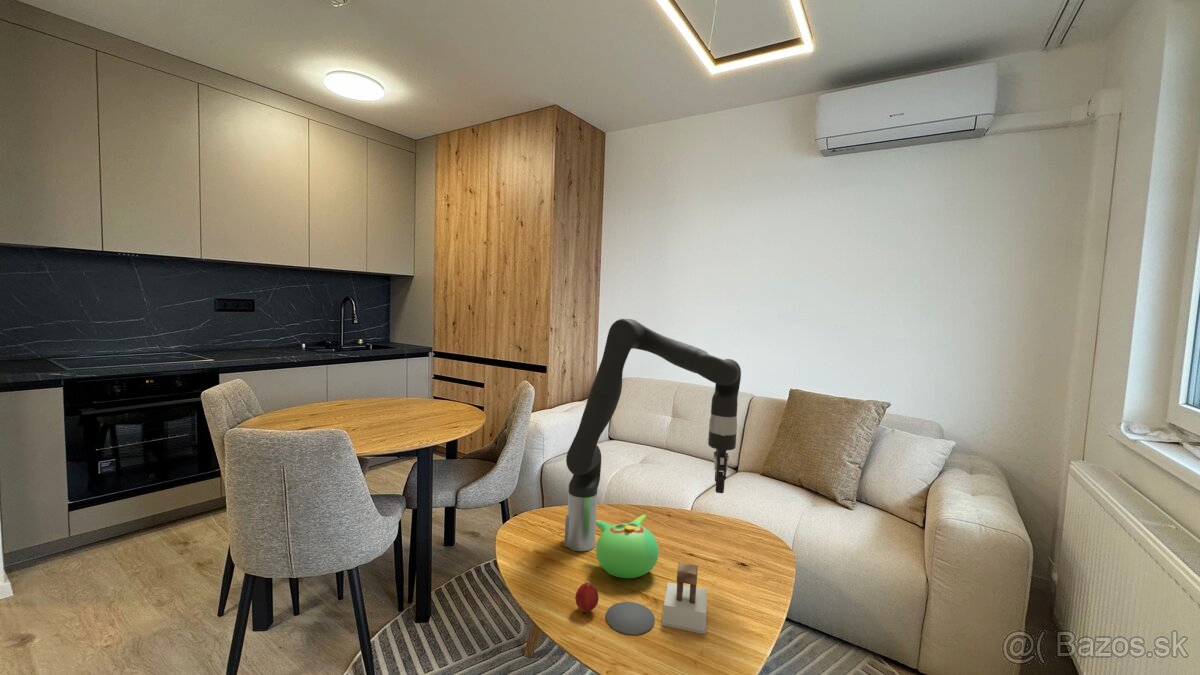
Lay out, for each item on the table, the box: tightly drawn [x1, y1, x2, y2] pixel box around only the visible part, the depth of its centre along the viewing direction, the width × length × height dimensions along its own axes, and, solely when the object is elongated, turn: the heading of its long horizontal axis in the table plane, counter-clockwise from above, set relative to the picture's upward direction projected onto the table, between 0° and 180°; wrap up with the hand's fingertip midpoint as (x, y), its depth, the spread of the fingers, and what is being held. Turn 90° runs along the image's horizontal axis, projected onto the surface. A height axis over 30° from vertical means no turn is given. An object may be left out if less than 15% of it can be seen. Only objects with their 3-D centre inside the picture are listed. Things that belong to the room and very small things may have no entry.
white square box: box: [661, 581, 708, 635], centre depth 116 cm, size 10×10×5 cm
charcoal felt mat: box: [605, 601, 656, 636], centre depth 114 cm, size 12×12×1 cm
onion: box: [574, 580, 599, 614], centre depth 116 cm, size 6×6×8 cm
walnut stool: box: [676, 562, 699, 604], centre depth 116 cm, size 5×5×7 cm
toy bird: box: [595, 513, 660, 579], centre depth 134 cm, size 18×17×15 cm
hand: (719, 487), depth 131 cm, fingers open, 8 cm apart
